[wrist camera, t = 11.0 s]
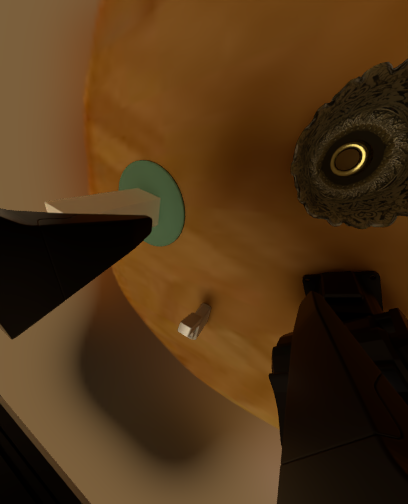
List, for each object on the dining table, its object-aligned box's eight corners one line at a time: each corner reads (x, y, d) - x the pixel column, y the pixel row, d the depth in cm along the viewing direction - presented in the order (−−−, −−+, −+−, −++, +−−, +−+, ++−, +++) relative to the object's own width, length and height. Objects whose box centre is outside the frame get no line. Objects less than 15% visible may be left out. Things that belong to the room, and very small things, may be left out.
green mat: (197, 237, 26) (196, 238, 25) (142, 250, 33) (140, 251, 33) (161, 142, 22) (159, 142, 22) (109, 180, 30) (107, 180, 29)
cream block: (160, 197, 25) (72, 218, 16) (157, 225, 28) (80, 257, 18) (137, 187, 27) (44, 201, 17) (137, 214, 29) (54, 239, 20)
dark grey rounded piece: (291, 132, 16) (280, 112, 10) (412, 79, 12) (529, -16, 6) (303, 212, 18) (301, 239, 12) (410, 190, 14) (494, 213, 8)
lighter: (207, 322, 32) (182, 360, 26) (199, 317, 33) (173, 353, 27) (214, 294, 29) (188, 332, 22) (205, 290, 29) (177, 325, 23)
